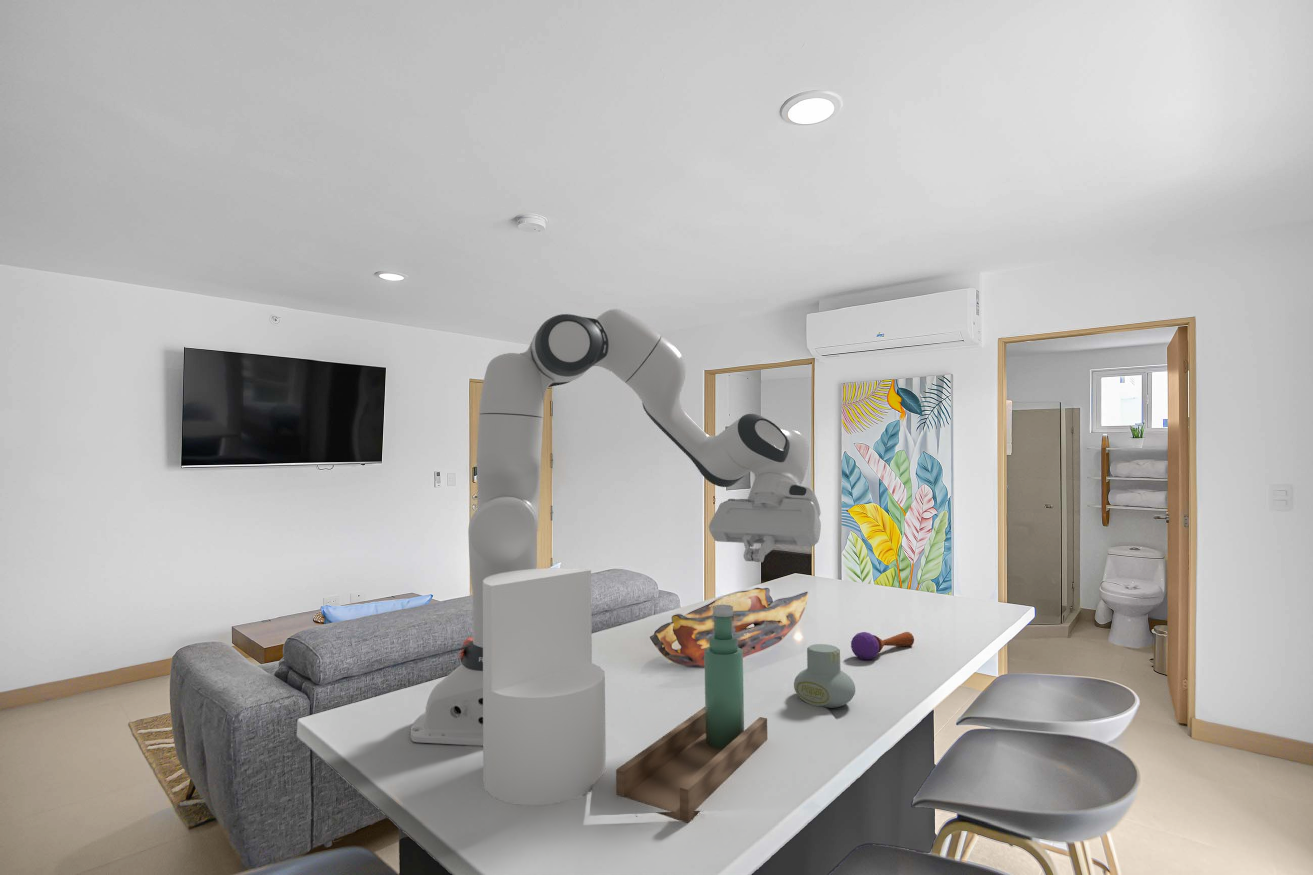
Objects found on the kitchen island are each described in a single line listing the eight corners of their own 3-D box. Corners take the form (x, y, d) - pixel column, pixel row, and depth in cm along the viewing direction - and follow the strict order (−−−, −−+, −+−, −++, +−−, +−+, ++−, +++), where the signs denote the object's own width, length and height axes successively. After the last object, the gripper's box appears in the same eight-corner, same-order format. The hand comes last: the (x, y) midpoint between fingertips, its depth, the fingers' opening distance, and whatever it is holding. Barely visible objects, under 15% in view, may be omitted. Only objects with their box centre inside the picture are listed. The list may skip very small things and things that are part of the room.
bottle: (708, 750, 99) (706, 611, 100) (703, 733, 105) (701, 603, 106) (747, 748, 100) (745, 610, 100) (740, 732, 106) (738, 602, 106)
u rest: (706, 730, 109) (705, 706, 109) (767, 744, 103) (767, 718, 103) (616, 800, 86) (616, 769, 87) (688, 822, 81) (688, 789, 81)
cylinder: (460, 774, 94) (460, 578, 95) (559, 738, 106) (557, 564, 108) (528, 820, 82) (527, 594, 83) (630, 773, 94) (628, 576, 95)
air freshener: (786, 701, 121) (785, 647, 122) (810, 690, 127) (809, 638, 128) (840, 717, 114) (838, 658, 114) (863, 704, 120) (861, 648, 120)
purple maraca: (921, 631, 155) (870, 639, 143) (916, 655, 155) (865, 665, 144) (899, 622, 160) (848, 629, 148) (894, 645, 160) (843, 654, 148)
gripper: (716, 488, 126) (693, 544, 118) (821, 489, 116) (804, 551, 107) (727, 509, 130) (705, 566, 121) (829, 512, 119) (813, 574, 111)
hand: (752, 559), depth 114 cm, fingers closed
